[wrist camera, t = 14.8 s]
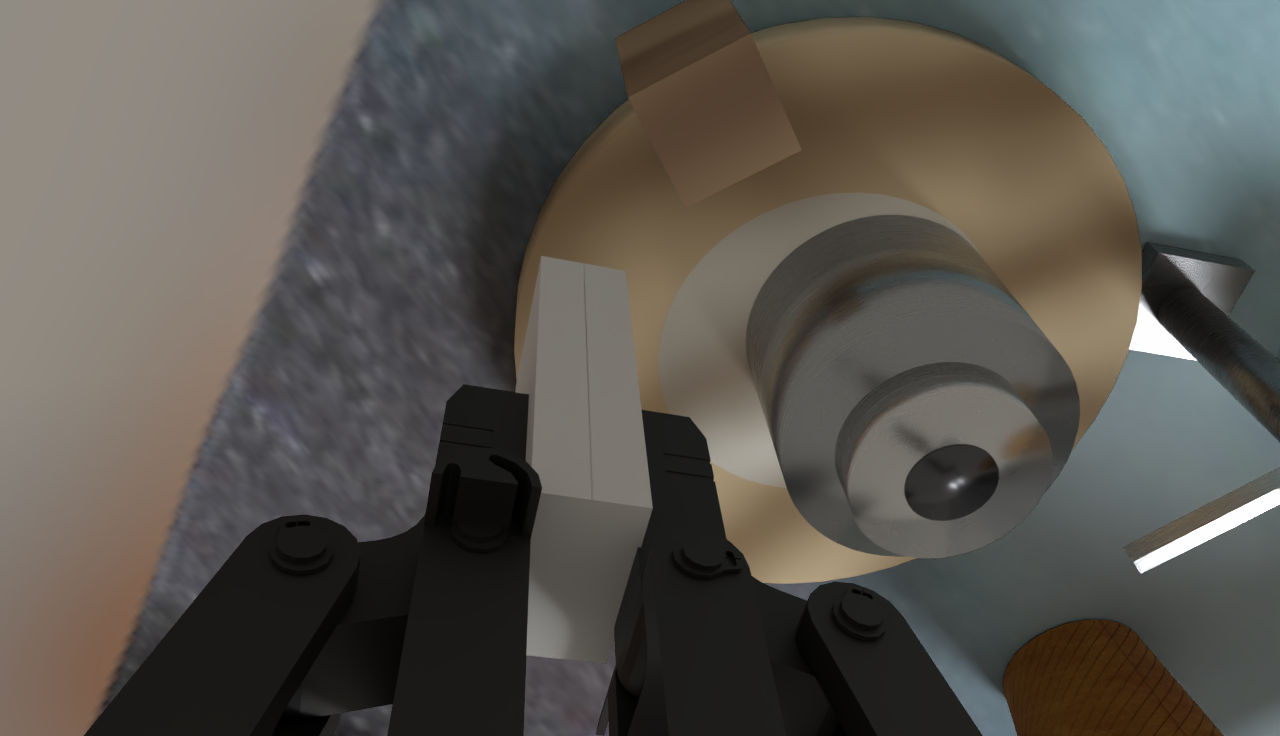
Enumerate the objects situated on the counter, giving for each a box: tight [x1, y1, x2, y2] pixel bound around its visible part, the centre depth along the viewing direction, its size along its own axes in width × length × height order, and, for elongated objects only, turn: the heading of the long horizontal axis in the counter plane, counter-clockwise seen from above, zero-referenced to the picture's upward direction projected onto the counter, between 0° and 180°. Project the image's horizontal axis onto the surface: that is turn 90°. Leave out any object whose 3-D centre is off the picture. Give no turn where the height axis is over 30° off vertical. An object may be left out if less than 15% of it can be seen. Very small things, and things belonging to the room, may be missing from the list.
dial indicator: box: [1123, 242, 1280, 574], centre depth 30 cm, size 6×7×14 cm
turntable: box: [514, 0, 1142, 584], centre depth 31 cm, size 22×20×7 cm
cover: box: [746, 214, 1080, 559], centre depth 29 cm, size 8×8×8 cm
